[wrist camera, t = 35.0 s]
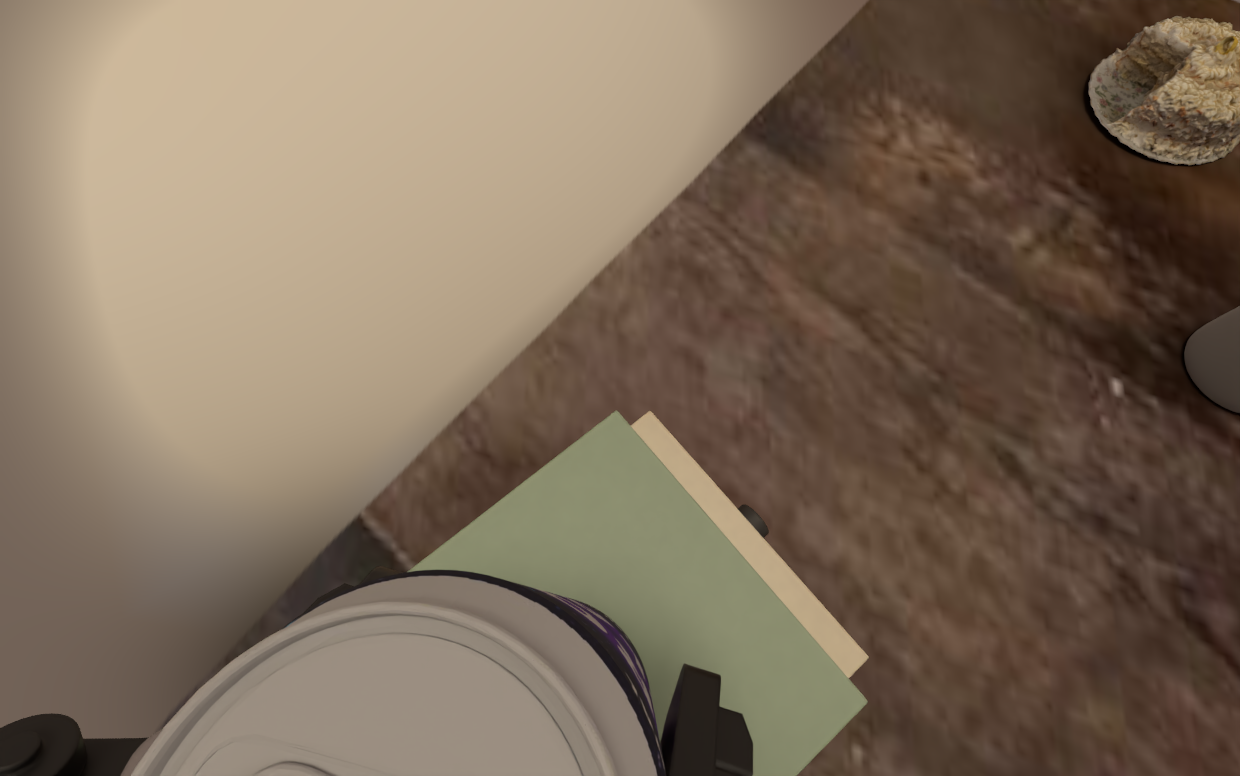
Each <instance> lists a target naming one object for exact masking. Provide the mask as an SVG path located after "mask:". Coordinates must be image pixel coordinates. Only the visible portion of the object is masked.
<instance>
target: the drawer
mask: <svg viewBox="0 0 1240 776" xmlns="http://www.w3.org/2000/svg"><path fill="white" fill-rule="evenodd" d="M631 427H632V428H633V429H634V430H635V432H636V433H637V434H638V435H639V436H640V437H641V439H642V440H643V441H644V442H645V443H646V444H647V446H648V447H649V448H650V449H651V450H652V451H653V452H654V454H655V455H656V456H657V457H658V458H659V459H660V461H661V462H662V463H663V464H664V465H665V466H666V468H667V469H668V470H669V471H670V472H671V473H672V475H673V476H674V477H675V478H676V479H677V480H678V481H679V483H680V484H681V485H682V486H683V487H684V488H685V490H686V491H687V492H688V493H689V494H690V495H691V497H692V498H693V499H694V500H695V501H696V502H697V503H698V505H699V506H700V507H701V508H702V509H703V510H704V512H705V513H706V514H707V515H708V516H709V517H710V519H711V520H712V521H713V522H714V523H715V524H716V526H717V527H718V528H719V529H720V530H721V531H722V532H723V534H724V535H725V536H726V537H727V538H728V539H729V541H730V542H731V543H732V544H733V545H734V546H735V548H736V549H737V550H738V551H739V552H740V553H741V554H742V556H743V557H744V558H745V559H746V560H747V561H748V563H749V564H750V565H751V566H752V567H753V568H754V570H755V571H756V572H757V573H758V574H759V575H760V576H761V578H762V579H763V580H764V581H765V582H766V583H767V585H768V586H769V587H770V588H771V589H772V590H773V592H774V593H775V594H776V595H777V596H778V597H779V599H780V600H781V601H782V602H783V603H784V604H785V605H786V607H787V608H788V609H789V610H790V611H791V612H792V614H793V615H794V616H795V617H796V618H797V619H798V621H799V622H800V623H801V624H802V625H803V626H804V627H805V629H806V630H807V631H808V632H809V633H810V634H811V636H812V637H813V638H814V639H815V640H816V641H817V643H818V644H819V645H820V646H821V647H822V648H823V649H824V651H825V652H826V653H827V654H828V655H829V656H830V658H831V659H832V660H833V661H834V662H835V663H836V665H837V666H838V667H839V668H840V669H841V670H842V672H843V673H844V674H845V675H846V676H847V677H848V678H850V677H851V676H852V675H853V673H854V672H855V671H856V670H857V669H858V668H859V667H860V666H861V665H862V664H863V663H864V662H865V661H866V660H867V659H868V658H869V657H868V655H867V654H866V653H865V652H864V651H863V650H862V649H861V648H860V646H859V645H858V644H857V643H856V642H855V641H854V640H853V639H852V637H851V636H850V635H849V634H848V633H847V632H846V631H845V630H844V628H843V627H842V626H841V625H840V624H839V623H838V622H837V621H836V619H835V618H834V617H833V616H832V615H831V614H830V613H829V612H828V610H827V609H826V608H825V607H824V606H823V605H822V604H821V602H820V601H819V600H818V599H817V598H816V597H815V596H814V595H813V593H812V592H811V591H810V590H809V589H808V588H807V587H806V586H805V584H804V583H803V582H802V581H801V580H800V579H799V578H798V577H797V575H796V574H795V573H794V572H793V571H792V570H791V569H790V568H789V566H788V565H787V564H786V563H785V562H784V561H783V560H782V559H781V557H780V556H779V555H778V554H777V553H776V552H775V551H774V549H773V548H772V547H771V546H770V545H769V544H768V543H767V542H766V540H765V539H764V537H765V536H766V535H767V534H768V533H769V530H768V528H767V526H766V524H765V523H764V521H763V520H762V519H761V517H760V516H759V515H758V514H757V513H756V512H755V511H754V510H753V509H751V508H750V507H749V506H747V505H742V506H740V507H739V508H738V509H737V508H736V507H735V506H734V504H733V503H732V502H731V501H730V500H729V499H728V498H727V497H726V495H725V494H724V493H723V492H722V491H721V490H720V489H719V487H718V486H717V485H716V484H715V483H714V482H713V481H712V480H711V478H710V477H709V476H708V475H707V474H706V473H705V472H704V471H703V469H702V468H701V467H700V466H699V465H698V464H697V463H696V462H695V460H694V459H693V458H692V457H691V456H690V455H689V454H688V453H687V451H686V450H685V449H684V448H683V447H682V446H681V445H680V444H679V442H678V441H677V440H676V439H675V438H674V437H673V436H672V435H671V433H670V432H669V431H668V430H667V429H666V428H665V427H664V425H663V424H662V423H661V422H660V421H659V420H658V419H657V418H656V416H655V415H654V414H653V413H652V412H651V411H649V412H647V413H646V414H645V415H644V416H642V417H641V418H640V419H639V420H637V421H636V422H635V423H633V424H632V425H631Z"/></svg>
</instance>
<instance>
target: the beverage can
mask: <svg viewBox="0 0 1240 776" xmlns="http://www.w3.org/2000/svg"><path fill="white" fill-rule="evenodd" d="M131 776H666V772H665V766H664V761H663V756H662V750H661V745H660V740H659V734H658V729H657V724H656V718H655V713H654V708H653V702H652V697H651V692H650V687H649V682H648V678H647V675H646V671H645V668H644V666H643V663H642V661H641V659H640V656H639V654H638V652H637V651H636V649H635V647H634V645H633V644H632V642H631V641H630V639H629V638H628V637H627V635H626V634H625V633H624V632H623V630H622V629H621V628H620V627H619V626H618V625H617V624H616V623H615V622H614V621H613V620H611V619H610V618H609V617H608V616H607V615H605V614H604V613H602V612H601V611H599V610H598V609H596V608H594V607H592V606H590V605H588V604H586V603H583V602H581V601H578V600H574V599H571V598H567V597H564V596H560V595H556V594H553V593H549V592H546V591H542V590H539V589H535V588H532V587H528V586H525V585H521V584H518V583H514V582H510V581H507V580H503V579H500V578H496V577H493V576H489V575H485V574H479V573H474V572H467V571H458V570H421V571H412V572H405V573H399V574H394V575H390V576H385V577H381V578H378V579H375V580H371V581H368V582H365V583H362V584H360V585H357V586H355V587H352V588H349V589H347V590H345V591H343V592H341V593H338V594H336V595H334V596H332V597H330V598H328V599H326V600H325V601H323V602H321V603H319V604H317V605H316V606H314V607H312V608H311V609H309V610H308V611H306V612H305V613H303V614H302V615H300V616H299V617H297V618H295V619H294V620H293V621H292V622H290V623H289V624H288V625H286V626H285V627H284V628H282V629H281V630H280V631H278V632H276V633H274V634H273V635H271V636H269V637H267V638H266V639H264V640H262V641H261V642H259V643H258V644H256V645H255V646H253V647H252V648H250V649H249V650H247V651H246V652H244V653H243V654H241V655H240V656H238V657H237V658H235V659H234V660H232V661H231V662H230V663H229V664H228V665H227V666H225V667H224V668H223V669H222V670H221V671H220V672H218V673H217V674H216V675H215V676H214V677H213V678H211V679H210V680H209V681H208V682H207V683H206V684H204V685H203V686H202V687H201V688H200V689H199V690H198V691H197V692H196V693H195V694H194V695H193V696H192V697H191V698H190V699H189V700H188V702H187V703H186V704H185V705H184V706H183V707H182V708H181V709H180V710H179V711H178V712H177V714H176V715H175V716H174V717H173V718H172V719H171V720H170V721H169V722H168V723H167V725H166V726H165V727H164V728H163V730H162V731H161V733H160V734H159V735H158V737H157V738H156V739H155V741H154V742H153V744H152V745H151V746H150V748H149V749H148V751H147V752H146V753H145V755H144V756H143V757H142V759H141V760H140V762H139V763H138V764H137V766H136V767H135V769H134V771H133V773H132V774H131Z"/></svg>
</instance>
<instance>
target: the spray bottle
mask: <svg viewBox="0 0 1240 776" xmlns="http://www.w3.org/2000/svg"><path fill="white" fill-rule="evenodd" d="M1184 359H1185V365H1186V368H1187V371H1188V373H1189V375H1190V377H1191V379H1192V380H1193V382H1194V383H1195V384H1196V386H1197V387H1198V388H1199V389H1200V390H1201V391H1202V392H1203V393H1204V394H1205V395H1206V396H1207V397H1209V398H1210V399H1211V400H1213V401H1214V402H1215V403H1217V404H1219V405H1220V406H1222V407H1224V408H1226V409H1229V410H1231V411H1234V412H1237V413H1240V306H1239V307H1237V308H1235V309H1233V310H1231V311H1230V312H1228V313H1226V314H1224V315H1222V316H1220V317H1218V318H1216V319H1215V320H1213V321H1211V322H1209V323H1207V324H1206V325H1204V326H1203V327H1201V328H1200V329H1198V330H1197V331H1196V332H1195V333H1193V334H1192V336H1191V337H1190V338H1189V340H1188V342H1187V344H1186V347H1185V352H1184Z"/></svg>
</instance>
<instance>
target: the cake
mask: <svg viewBox="0 0 1240 776" xmlns="http://www.w3.org/2000/svg"><path fill="white" fill-rule="evenodd" d="M1127 47H1128V48H1126V49H1124V50H1120V49H1118V48H1117V49H1116V52H1115V53H1113V54H1111V55H1110V56H1108V58H1106V59H1103V60H1102V61H1101V62H1100V64H1099V65H1097V66H1096V67H1095V69H1094V72H1092V73H1091V76H1090V82H1089V83H1088V84H1089V91H1088V93H1089V96H1090V99H1091V101H1090V102H1091V106H1092V107H1093V108H1094V111H1095V115H1096V117H1097V118H1098V119H1099V120H1100V123H1101V124H1102V125H1103V126H1104V127H1105V128H1107V129H1108V130H1109V132H1110V134H1112V135H1114V136H1115V137H1117V138H1118V140H1119V141H1120V142H1121V143H1124V144H1125V145H1128V146H1129V147H1130V148H1131V149H1133V150H1136V151H1137V152H1140V153H1142V154H1144V155H1145V156H1148V157H1149V158H1154V159H1156V160H1159V161H1162V162H1169V163H1172V164H1174V165H1177V164H1188V165H1194V164H1198V165H1200V164H1204V163H1206V162H1210V161H1211V162H1212V161H1215V160H1217V159H1219V158H1222V157H1225V156H1226V155H1227V153H1229V152H1231V151H1232V150H1233V149H1234V148H1235V146H1236V145H1237V144H1238V143H1239V142H1240V32H1239V31H1238V32H1237V31H1234V30H1232V24H1231V23H1228V24H1227V23H1226V22H1221V23H1216V22H1215V21H1213V20H1212V19H1206V18H1204V19H1197V18H1195V19H1192V18H1190V17H1187V18H1184V19H1182V17H1178V16H1175V17H1173V18H1171V19H1166V20H1163V21H1160V22H1157V23H1156V24H1155V25H1154V26H1151V27H1146V26H1145V27H1144V29H1143V31H1141V32H1140V33H1138V34H1136V35H1135V37H1133V38H1132V40H1131V41H1130V43H1128V44H1127Z"/></svg>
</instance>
